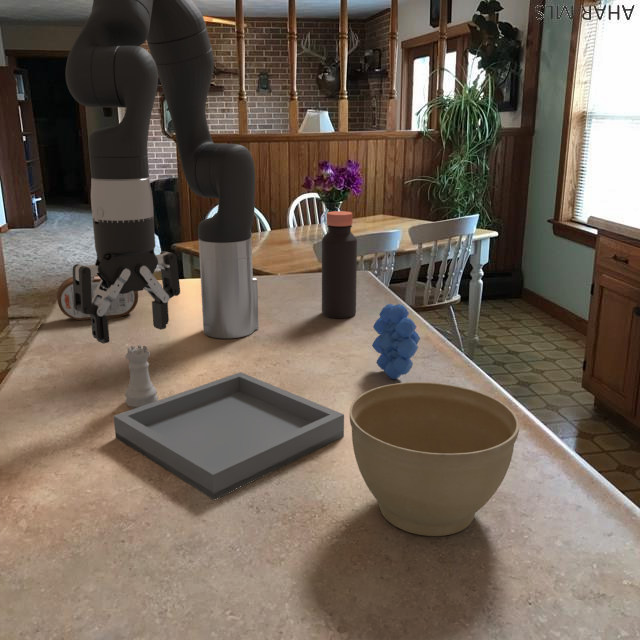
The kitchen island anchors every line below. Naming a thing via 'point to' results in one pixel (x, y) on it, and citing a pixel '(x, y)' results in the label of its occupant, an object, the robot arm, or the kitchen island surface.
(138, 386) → the rook chess piece
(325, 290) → the bottle
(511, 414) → the planter bowl
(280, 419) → the tray
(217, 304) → the robot arm
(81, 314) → the tin
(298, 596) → the kitchen island surface
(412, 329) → the grapes
